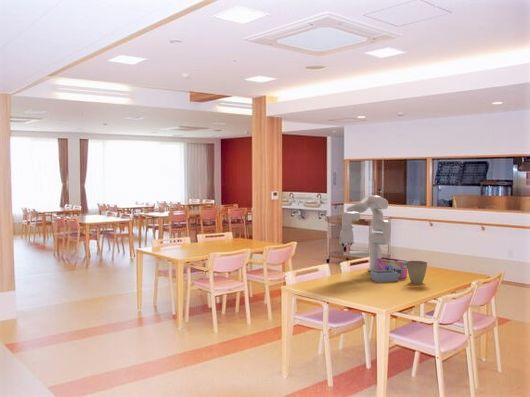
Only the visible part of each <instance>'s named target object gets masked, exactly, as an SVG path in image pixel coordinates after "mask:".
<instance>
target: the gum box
mask: <svg viewBox="0 0 530 397" xmlns="http://www.w3.org/2000/svg"><path fill="white" fill-rule="evenodd" d="M407 261H408V260H404V259H395V258H390V257H382V256H381V259H378V258H377V271H382V270H392V271H395V272H397V273H398V279H404V278H407V277H408V270H407V263H406V262H407Z"/></svg>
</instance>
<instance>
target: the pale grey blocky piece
mask: <svg viewBox="0 0 530 397" xmlns="http://www.w3.org/2000/svg"><path fill="white" fill-rule="evenodd" d="M343 254H345V255H350V256H368V255H370V254H372V253H371V252H370V251H369V250H350V251H349V245H348V243H346V252H344V251H343Z"/></svg>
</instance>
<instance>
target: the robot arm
mask: <svg viewBox="0 0 530 397" xmlns="http://www.w3.org/2000/svg"><path fill="white" fill-rule="evenodd" d="M388 207H389V201H388V199H386V198H384V197H382V196H379V195H365V196H364V197H363V198H362V199H361V200H360V201H359V202H357V203H355V204H353V205H351V206H348V207H347V208H346V209H345V210H343V212H342V213H341V229H340V232H339V242H338V244H339V245H342V251H343V253H344V252H346V244H347V245H349V251H351V246H352V245H354V244H355V242H354V231H353V229H354V226H353V222H358V221H359V220H360V219H361V214H362V213H364V212H366V211H367V210H368V209H370V210H371V212H372V220H371V221H372V222H371V230H373V231H375V232H371V233H370V234H369V236H368V241H369V242H368V243H369V252H371V253H372V254H369V267H368V268H367V270H368V271H369V272H371V271H377V258H378V259H381V257H382V247H381V246H387V245H389V243H390V242H391V232H392V224H391V222H390V221H389V220H385V219H384V213H383V210H386V209H387V208H388Z"/></svg>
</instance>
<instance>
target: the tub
mask: <svg viewBox="0 0 530 397" xmlns="http://www.w3.org/2000/svg"><path fill="white" fill-rule="evenodd" d="M370 280H372V281H374V282H375V283H386V282H398V281H399V278H398V273H397V272H395V271H392V270H382V271H370Z"/></svg>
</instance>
